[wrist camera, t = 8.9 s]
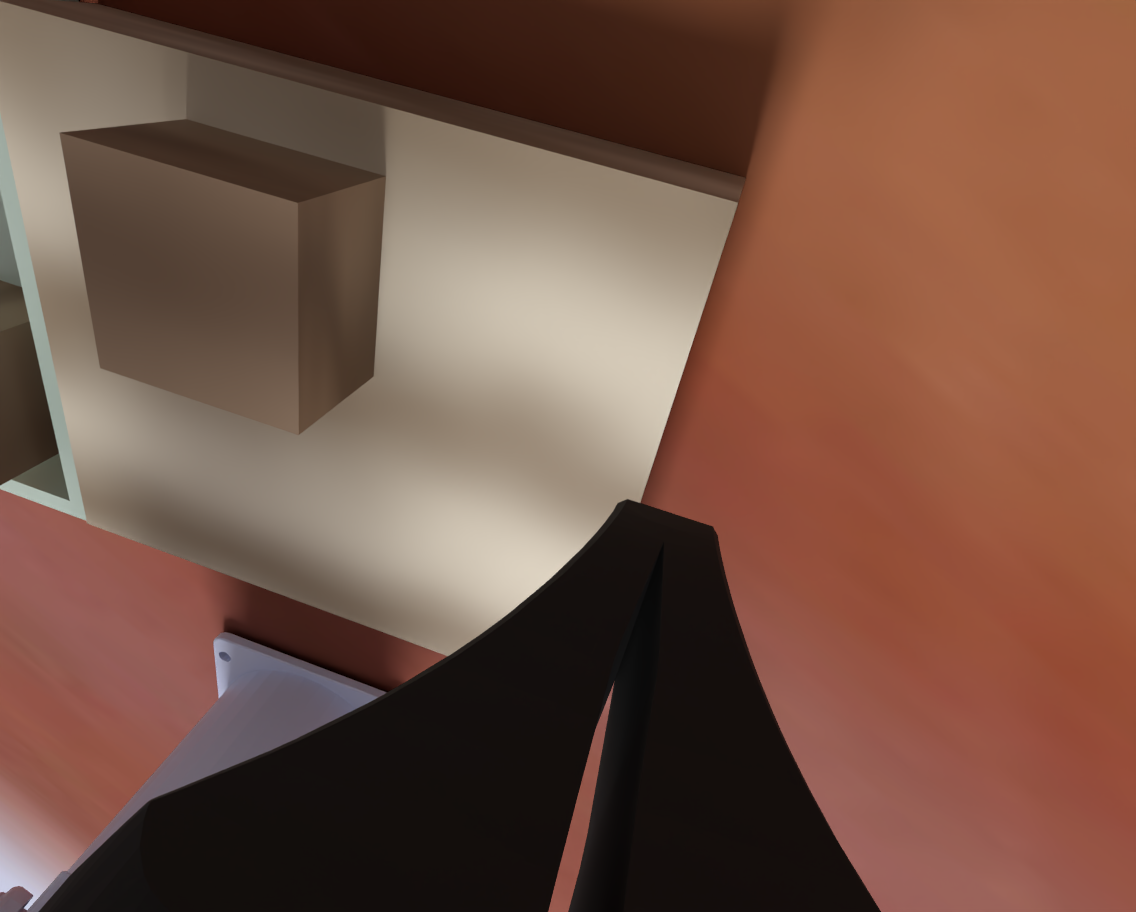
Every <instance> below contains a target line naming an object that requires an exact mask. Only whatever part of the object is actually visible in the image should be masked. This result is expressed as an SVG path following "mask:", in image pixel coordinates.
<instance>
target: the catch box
mask: <svg viewBox="0 0 1136 912" xmlns="http://www.w3.org/2000/svg"><path fill="white" fill-rule="evenodd" d="M57 1H71V2H79V0H57ZM0 280H1V281H4V282H7V283H10V284H13V285H16V286H19V287H22V290H23V294H24V299H25V303H26V308H27V312H28V316H29V321H30V325H31V330H32V334H33V339H34V343H35V348H36V352H37V357H38V361H39V366H40V370H41V374H42V379H43V383H44V388H45V392H46V397H47V401H48V406H49V410H50V415H51V419H52V424H53V428H54V433H55V437H56V441H57V446H58V450H59V454H57V455H55V456H53V457H51V458H50V459H48V460H46V461H44V462H42V463H40V464H39V465H37V466H35V467H33V468H31V469H30V470H28V471H26V472H24V473H22V474H20V475H19V476H17V477H15V478H13V479H11V480H10V481H8V482H6V483H4V484H2V485H0V489H2V490H4V491H7V492H10V493H13V494H15V495H18V496H21V497H24V498H26V499H29V500H32V501H34V502H37V503H40V504H43V505H45V506H48V507H51V508H53V509H56V510H59V511H62V512H64V513H67V514H70V515H72V516H75V517H78V518H81V519H83V520H86V515H85V511H84V506H83V501H82V496H81V492H80V487H79V482H78V477H77V473H76V468H75V463H74V459H73V454H72V449H71V444H70V440H69V435H68V430H67V426H66V421H65V416H64V411H63V407H62V402H61V397H60V393H59V388H58V383H57V378H56V374H55V369H54V364H53V359H52V355H51V350H50V345H49V341H48V336H47V331H46V326H45V322H44V317H43V312H42V308H41V303H40V298H39V293H38V289H37V284H36V279H35V274H34V270H33V265H32V260H31V256H30V251H29V246H28V241H27V237H26V232H25V227H24V223H23V218H22V213H21V208H20V204H19V199H18V194H17V189H16V185H15V180H14V175H13V171H12V166H11V161H10V156H9V152H8V147H7V142H6V138H5V133H4V128H3V123H2V119H1V114H0ZM86 521H87V520H86Z"/></svg>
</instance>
